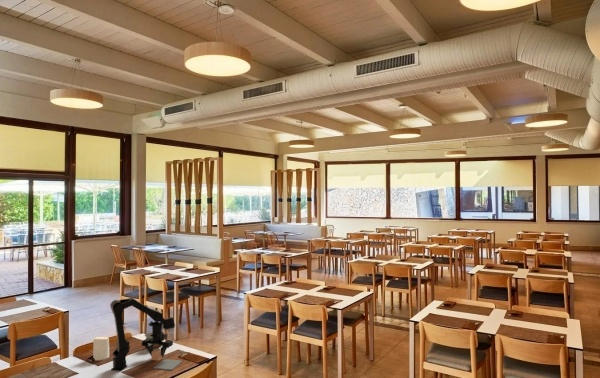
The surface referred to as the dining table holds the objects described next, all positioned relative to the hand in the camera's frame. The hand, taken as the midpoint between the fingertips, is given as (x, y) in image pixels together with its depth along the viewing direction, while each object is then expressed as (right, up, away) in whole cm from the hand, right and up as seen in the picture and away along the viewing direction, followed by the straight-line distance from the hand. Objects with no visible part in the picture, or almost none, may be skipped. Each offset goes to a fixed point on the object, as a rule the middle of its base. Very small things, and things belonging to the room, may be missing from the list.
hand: (157, 356), depth 251 cm
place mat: (+10, -1, -10) cm, 14 cm away
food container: (-8, -1, +18) cm, 19 cm away
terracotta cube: (0, -1, 0) cm, 1 cm away
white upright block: (-36, -2, +3) cm, 37 cm away
